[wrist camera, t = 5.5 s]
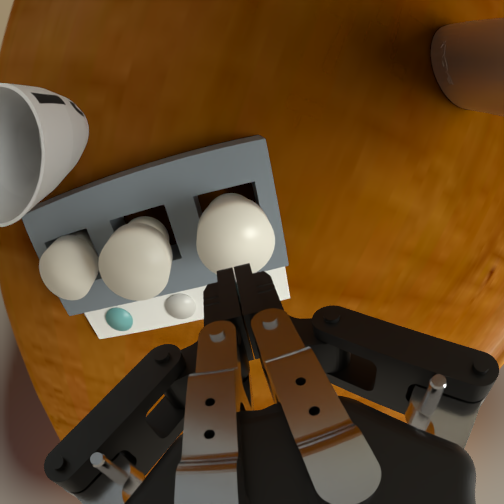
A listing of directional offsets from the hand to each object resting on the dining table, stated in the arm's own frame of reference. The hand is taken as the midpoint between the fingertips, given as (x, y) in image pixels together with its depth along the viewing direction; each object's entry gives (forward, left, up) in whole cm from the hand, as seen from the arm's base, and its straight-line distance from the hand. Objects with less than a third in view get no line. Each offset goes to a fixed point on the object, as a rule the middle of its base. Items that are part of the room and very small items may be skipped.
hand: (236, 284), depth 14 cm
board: (+6, 0, -12) cm, 14 cm away
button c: (+13, 0, -11) cm, 17 cm away
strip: (+6, +8, -12) cm, 16 cm away
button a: (0, 0, -9) cm, 9 cm away
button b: (+6, 0, -9) cm, 11 cm away
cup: (+11, -9, -12) cm, 19 cm away
